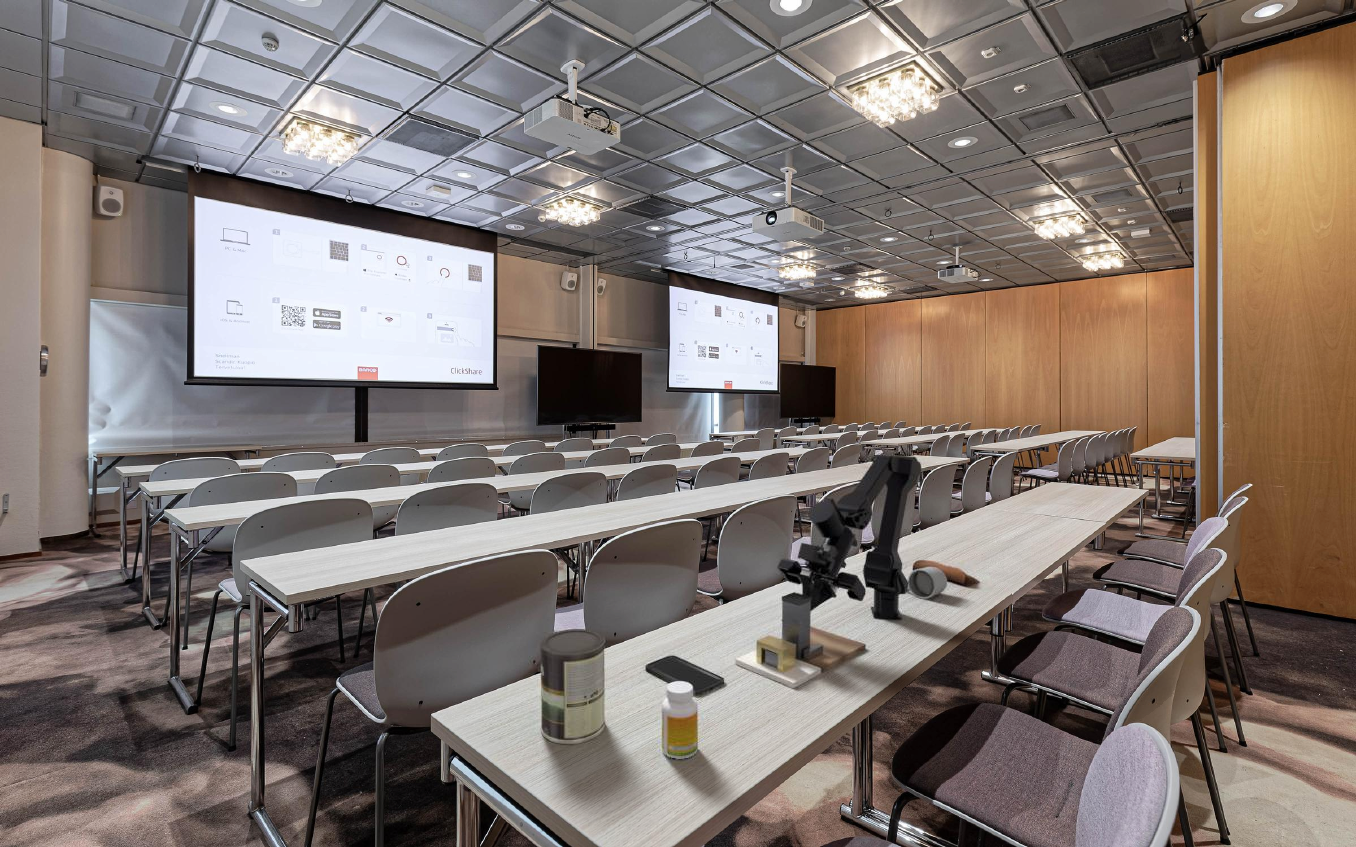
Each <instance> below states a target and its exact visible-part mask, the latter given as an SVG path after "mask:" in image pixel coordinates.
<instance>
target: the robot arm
mask: <svg viewBox="0 0 1356 847" xmlns="http://www.w3.org/2000/svg"><path fill="white" fill-rule="evenodd" d="M921 472H922V464H921V462H920V461H918V459H917V458H916V456H908V455H895V454H889V455H888V454H877V455H874V457H873V459H872V462H871V465H870V466H869V467H868V469H867V471H866V472H865V474H863V476H862V478H861V479H860V481H859V482H858V483H857V485H856V487H855V488H854V489H853V491H852V492H849V493H847V494H845V495H843V496H842V497H841V498H840V499H839V500H838V501H837V502H836V501H835V499H834V498H832V497H824V498H823V499H822V501H818V502H816V503H814V504H813V505H812V506H810V507H809V510H808V511H807V512H808V513H807V515H808V519H809V521H810V522H811V523H812V525H813V526H814V528H815V530H816V531H817V533H818V534H819V535H820V536H821V537H823V540H822V542H821V544H820V545H819V544H816V545H814V544H810V543H809V544H808V543H804V542H800V547H799V550H798V554H797V558H798V559H801V560H804V565H805V567H802V566H801V564H800V563H799V561H797V560H793V559H790V558H782V559H780V561H779V562H778V565H777V566H776V568H777V570H778V571H779V572H780V574H781V575H782V576H783V578H784V579H785V580H786V581H787V582H789V583H792V584H796V585H799V586H800V585H801V587H802V589H801V590H802V591H801V594H802V595H806V596H810V597H811V612H812V611H813V610H815V609H816V608H817V607H820V606H821V605H822V604H823V603H825V602H826V601H829V600H830V599H832V598H835V599H836V598H837V591H838V589H842V590H847V591H846V594H847V596H848V598H849V599H851V600H854V601H859V602H862V601H864V598H865V596H866V590H867V589H868V588H869V589H873V606H871V607H870V610H871V614H872V617H873V618H876V619H891V620H902V618H903V617H902V614H901V612H900V609H899V598H900V596H899V595H906V594H907V592H908V590H907V589H908V578H907V577H906V576H905V574H904V573H903V562H902V559H901V557H900V554H899V552H898V550H899V544H900V539H901V534H902V529H903V521H904V518H905V516H904V515H905V512H906V505H907V500H908V495H909V492H911V490H912V489H913V488H914V487H915V486H916V485H917V484H918V479H919V476H920V474H921ZM885 485H886V494H885V499H884V505H883V510H882V516H881V521H880V525H879V526H880V527H879V530H878V538H877V543H876V546H875V547H874V548H873V549H872V551H871V550H868V551H867V552H866V554H865V562H864V565H863V568H862V574H863V578H864V584H863V582H862V580H860V578H859V576H858V575H857V574H852V573H849V572H844V571H841V569H845V568H846V566H847V563H846V561H845V560H846V559H847V556H848V555H849V552H850V549H851V548H852V547H858V541H857V536H856V533H854V532H852V529H853V530H859V531H860V530H861V531H864V530H865V529H866V528H867V527H868V525H869V524H870V522H871V519H872V516H873V509H872V506H873V504H874V502H875V500H876V499H877V497H878V496H879V494H880V493H881V491H882V490H883V489H884V487H885ZM806 567H808V568H806ZM866 588H867V589H866Z"/></svg>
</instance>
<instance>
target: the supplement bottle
mask: <svg viewBox="0 0 1356 847" xmlns="http://www.w3.org/2000/svg"><path fill="white" fill-rule="evenodd" d="M665 695H666V698H665V699H664V700H663V701H662V704H661V750H662V753H663V754H664V756H666V755H667V756H666V757H668V756H669V757H668V758H670V757H671V758H670V759H672V758H676V759H675V760H678V759H683V760H685V759H684V758H688V759H689V757H690V758H692V757H694V756H695V755H696V754H697V752H698V747H699V746H698V745H699V744H698V743H699V742H698V740H699V738H698V736H699V735H698V731H699V730H698V727H699V726H698V725H699V724H698V722H699V720H698V718H699V716H698V715H699V714H698V712H699V711H698V710H699V709H698V702H697V701H696V699H695V698H694V695H693V686H692V685H691V684H690V683H688V682H684V681H676V682H672V683H668V684H667V685H666V693H665ZM694 754H695V755H694ZM691 756H692V757H691Z"/></svg>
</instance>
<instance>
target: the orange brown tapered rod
mask: <svg viewBox="0 0 1356 847" xmlns="http://www.w3.org/2000/svg"><path fill="white" fill-rule="evenodd" d="M926 567H935V568H938V569H940V570H941V571H943V573H944V574H945V576H946V578H947V581H948V580H949V581H951V582H954V583H958V584H961V585H964V586H965V587H966V588H968V587H970V586H973V585H977V584H981V581H979V579H977V578H976V577H973V576H971V575H969V574H966V572H965V571H963V570H962V569H961V568H959V567H955V566H950V565H946V564H943V563H940V562H937V561H933V560H928V559H918V560H916V561H915V562H914V563H913V565H912V572H913V571H914V570H916V569H921V568H926Z"/></svg>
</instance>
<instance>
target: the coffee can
mask: <svg viewBox="0 0 1356 847" xmlns="http://www.w3.org/2000/svg"><path fill="white" fill-rule="evenodd" d="M605 647H606V637H605V636H604V635H603V634H601V633H600V632H598V631H595V630H591V629H585V628H574V629H573V628H572V629H564V630H559V631H556V632H553V633H550V634H548V635H546V636H544V637H543V638H542V639H541V641H540V643H539V650H540V694H541V695H540V696H541V697H540V698H541V699H540V701H541V703H540V704H541V706H540V709H541V713H540V714H541V716H540V717H541V718H540V719H541V722H540V723H541V727H540V732H541V735H542V736H543V738H544V739H547V741H549V742H552V743H555V744H560V745H577V744H582V743H586V742H589V741H591V740H593V739H594V738H596V737H599V736H600V734H601V733H602V732H603V731H604V729H605V727H606V720H605V719H606V716H605V715H606V713H605V710H606V708H605V695H606V694H605V689H606V688H605V687H606V685H605V679H606V678H605V671H606V670H605V665H606V664H605Z"/></svg>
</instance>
